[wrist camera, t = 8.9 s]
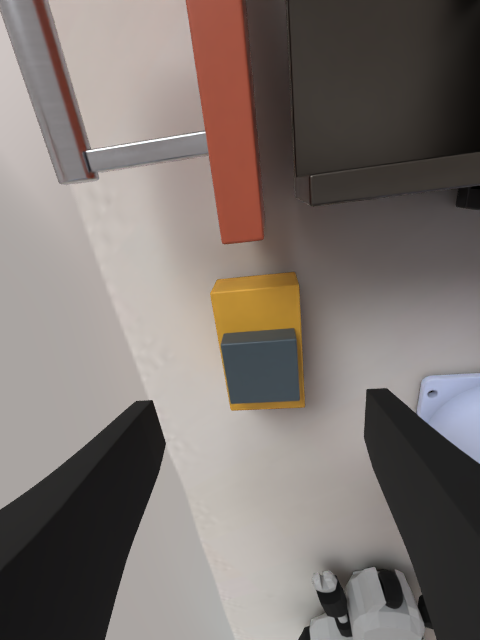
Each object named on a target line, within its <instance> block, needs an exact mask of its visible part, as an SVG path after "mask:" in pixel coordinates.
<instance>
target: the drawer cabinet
mask: <svg viewBox="0 0 480 640" xmlns="http://www.w3.org/2000/svg"><path fill="white" fill-rule="evenodd" d="M456 207H459V208H466V209H467V208H468V209H473V210H480V186H472V187H464V188H458V195H457V201H456Z"/></svg>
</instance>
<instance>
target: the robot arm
mask: <svg viewBox="0 0 480 640" xmlns="http://www.w3.org/2000/svg"><path fill="white" fill-rule="evenodd" d="M432 390H433V392H431V393H428V392H430V391H432ZM364 439H365V443H366V446H367V450H368V453H369V457H370V460H371V463H372V467H373V470H374V472H375V474H376V477H377V479H378V482H379V484H380V487H381V489H382V491H383V494H384V496H385V499H386V501H387V503H388V506H389V508H390V510H391V513H392V515H393V518H394V520H395V522H396V525H397V527H398V529H399V532H400V534H401V537H402V539H403V541H404V544H405V546H406V549H407V551H408V554H409V557H410V559H411V562H412V564H413V567H414V570H415V573H416V576H417V580H418V583H419V586H420V589H421V592H422V595H423V598H424V601H425V604H426V607H427V610H428V613H429V616H430V620H431V623H432V626H433V629H434V632H435V636H436V639H437V640H480V373H467V374H449V375H431V376H427V377H425V378H424V379H423V380H422V382H421V387H420V394H419V400H418V407H417V414H416V413H415V412H414V411H412V410H411V409H410V408H409V407H408V406H407V405H405V404H404V403H403V402H402V401H401V400H400V399H399V398H397V397H396V396H395V395H394V394H393V393H392V392H390V391H389V390H388V389H387V388H382V389H367V392H366V409H365V427H364ZM165 445H166V442H165V439H164V436H163V432H162V429H161V426H160V423H159V419H158V416H157V413H156V410H155V406H154V403H153V400H148V401H136V402H134V403H133V404H132V405H131V406H130V407H128V408H127V409H126V410H125V411H124V412H123V413H122V414H120V415H119V416H118V417H117V418H116V419H115V420H114V421H112V422H111V423H110V424H109V425H108V426H107V427H106V428H105V429H104V430H102V431H101V432H100V433H99V434H98V435H97V436H96V437H94V438H93V439H92V440H91V441H90V442H89V443H88V444H86V445H85V446H84V447H83V448H82V449H80V450H79V451H78V452H77V453H76V454H74V455H73V456H72V457H71V458H70V459H68V460H67V461H66V462H65V463H63V464H62V465H61V466H60V467H59V468H58V469H56V470H55V471H54V472H52V473H51V474H50V475H49V476H47V477H46V478H44V479H43V480H42V481H40V482H39V483H38V484H36V485H35V486H34V487H32V488H31V489H30V490H28V491H27V492H25V493H24V494H23V495H21V496H20V497H18V498H17V499H16V500H14V501H13V502H11V503H10V504H8V505H7V506H5V507H4V508H2V509H1V510H0V640H105V637H106V633H107V629H108V625H109V622H110V618H111V614H112V610H113V606H114V603H115V599H116V595H117V591H118V588H119V585H120V581H121V578H122V574H123V570H124V567H125V563H126V560H127V557H128V554H129V551H130V549H131V546H132V543H133V540H134V537H135V534H136V532H137V530H138V527H139V524H140V521H141V519H142V516H143V514H144V511H145V509H146V506H147V503H148V501H149V498H150V495H151V493H152V490H153V487H154V485H155V482H156V479H157V476H158V473H159V470H160V466H161V462H162V458H163V454H164V450H165Z"/></svg>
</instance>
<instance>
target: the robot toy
mask: <svg viewBox="0 0 480 640" xmlns="http://www.w3.org/2000/svg"><path fill="white" fill-rule="evenodd" d="M395 573H396V575H395ZM395 573H393V572H392V571H389V570H381V571H376V568H375V567H372V568H367V569H364V570H360V571H354V572H353V576H351V578H350V580H349V581H348V583H347V585H346V593H344V591H343V589H342V587H341V584H340V582H339V580H338V578H337V576H336V575H334V574H333V573H332V572H331V571H324V572H323V574H324V575H322V576H321V575H320V574H319V572H318V573H314V574H313V577H312V581H313V585H314V587H315V589H316V591H317V594H318V597H319V600H320V603H321V605H322V607H323V609H324V610H325V612H326V613H325V614H322V615H320V616H317V617H315V618H312V619H311V623H310V626H308V627H305V628H304V630H303V632H302V634H301V636H300V637H299V639H298V640H426V639H425V637H424V632H425V628H426V627H427V628H431V629H433V626H432V623H431V620H430V616H429V613H428V610H427V607H426V604H425V601H424V598H423V595H421V596H420V597H419V601H418V607H417V604H416V601H415V599H414V596H413V593H412V591H411V588H410V586H409V585H408V584H407V581H406V578H405V576H404V573H402V572H400V571H398V570H396V569H395Z"/></svg>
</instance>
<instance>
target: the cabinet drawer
mask: <svg viewBox="0 0 480 640" xmlns="http://www.w3.org/2000/svg"><path fill="white" fill-rule="evenodd" d="M186 5H187V12H188V19H189V25H190V32H191V39H192V45H193V52H194V59H195V66H196V72H197V79H198V86H199V92H200V99H201V106H202V113H203V119H204V126H205V131H200V132H193V133H187V134H181V135H175V136H169V137H163V138H157V139H151V140H145V141H139V142H133V143H127V144H121V145H114V146H108V147H102V148H96V149H91V147H90V144H89V140H88V137H87V133H86V130H85V126H84V123H83V120H82V116H81V113H80V109H79V106H78V102H77V99H76V95H75V92H74V88H73V85H72V81H71V78H70V74H69V71H68V68H67V64H66V61H65V57H64V54H63V50H62V47H61V43H60V40H59V36H58V33H57V29H56V26H55V22H54V19H53V16H52V12H51V9H50V5H49V2H48V0H0V12H1V15H2V18H3V20H4V23H5V26H6V29H7V32H8V35H9V38H10V41H11V44H12V47H13V50H14V53H15V56H16V59H17V61H18V64H19V67H20V70H21V73H22V76H23V79H24V82H25V85H26V88H27V91H28V94H29V97H30V100H31V103H32V106H33V108H34V111H35V114H36V117H37V120H38V123H39V126H40V129H41V132H42V135H43V138H44V141H45V143H46V147H47V149H48V153H49V155H50V158H51V161H52V164H53V167H54V170H55V173H56V176H57V179H58V182H59V183H60V184H78V183H87V182H93V181H97V180H99V175H98V172H108V171H114V170H121V169H127V168H134V167H140V166H147V165H153V164H160V163H166V162H173V161H179V160H186V159H192V158H199V157H205V156H209V160H210V166H211V173H212V180H213V186H214V193H215V200H216V207H217V213H218V220H219V227H220V233H221V240H222V243H223V244H233V243H242V242H250V241H259V240H263V239H264V227H265V211H264V200H263V189H262V177H261V166H260V155H259V143H258V132H257V121H256V109H255V98H254V86H253V75H252V64H251V52H250V41H249V30H248V18H247V7H246V0H186ZM286 18H287V39H288V60H289V81H290V102H291V123H292V143H293V164H294V185H295V198H297V199H299V200H301V201H303V202H305V203H306V204H308V205H310V206H321V205H329V204H337V203H345V202H353V201H361V200H369V199H377V198H385V197H393V196H401V195H409V194H416V193H424V192H432V191H440V190H448V189H456V188H464V187H472V186H480V0H286Z"/></svg>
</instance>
